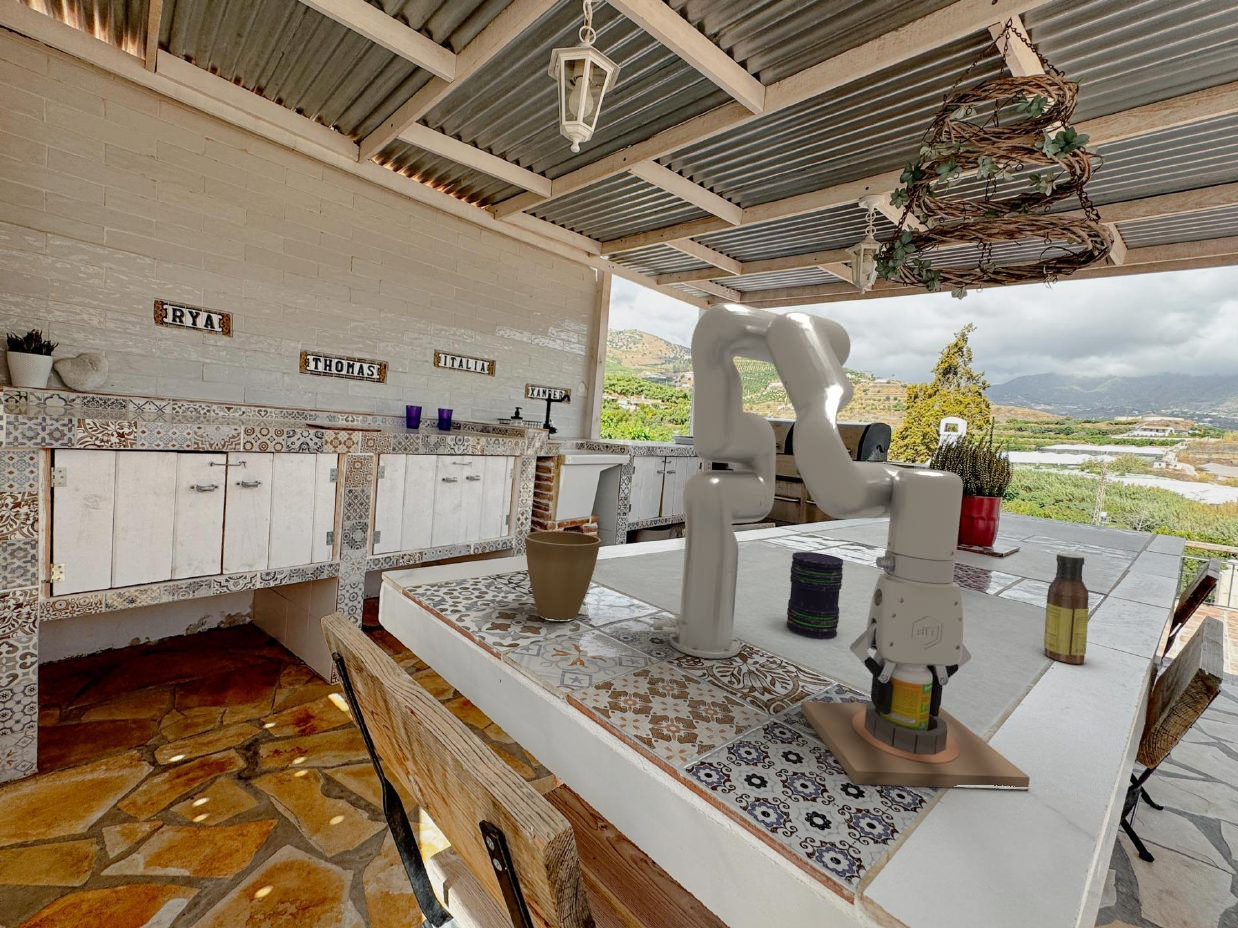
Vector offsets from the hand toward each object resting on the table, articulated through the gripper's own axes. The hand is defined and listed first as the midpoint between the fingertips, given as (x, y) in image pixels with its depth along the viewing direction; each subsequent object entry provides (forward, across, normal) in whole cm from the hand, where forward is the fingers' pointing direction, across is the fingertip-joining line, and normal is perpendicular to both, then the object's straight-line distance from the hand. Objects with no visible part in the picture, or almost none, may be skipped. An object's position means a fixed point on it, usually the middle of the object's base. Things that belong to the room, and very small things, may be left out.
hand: (904, 708), depth 70 cm
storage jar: (+5, +5, +42) cm, 42 cm away
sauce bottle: (+5, +50, +33) cm, 60 cm away
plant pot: (+5, -46, +43) cm, 63 cm away
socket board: (+5, 0, 0) cm, 5 cm away
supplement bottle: (+2, 0, 0) cm, 2 cm away
